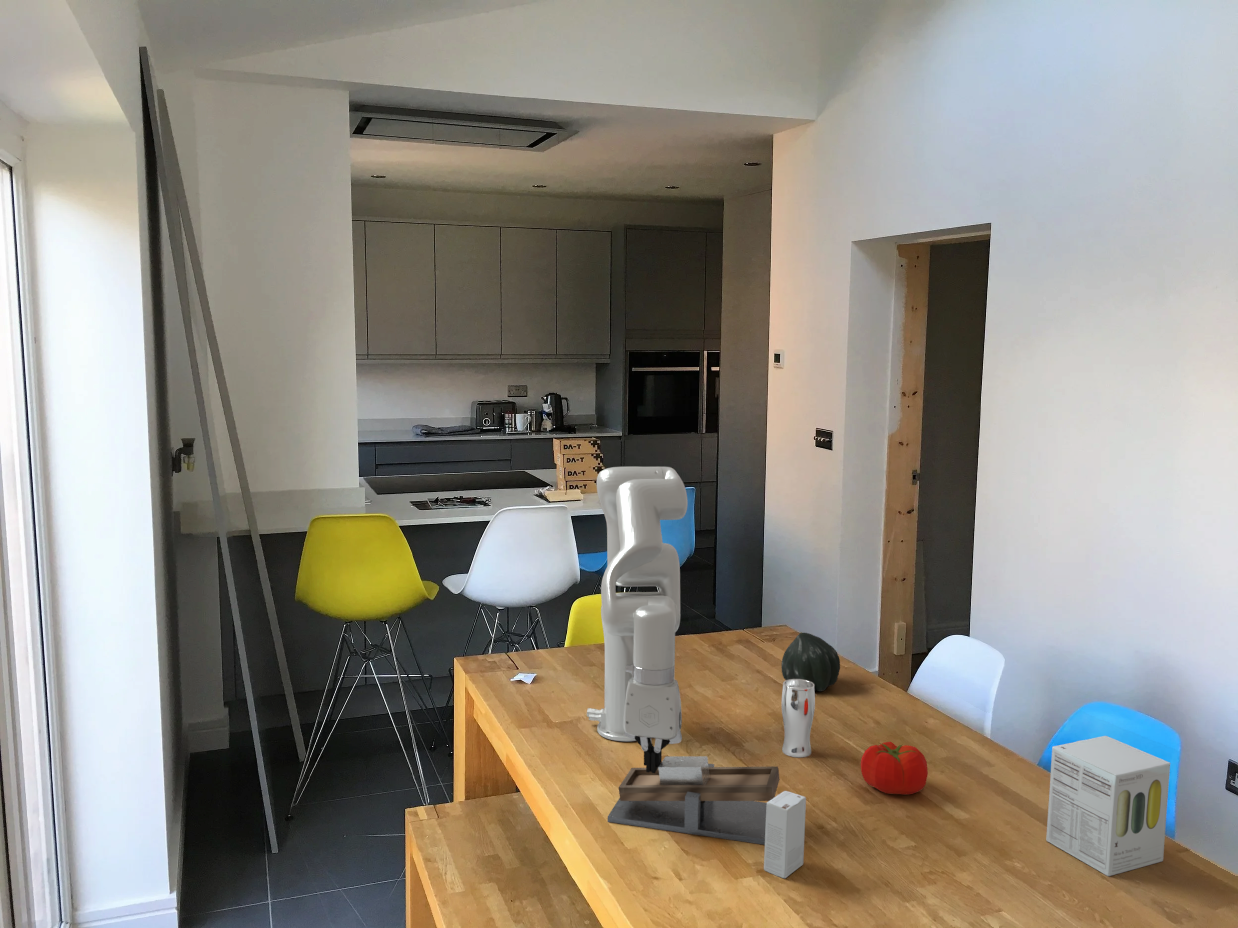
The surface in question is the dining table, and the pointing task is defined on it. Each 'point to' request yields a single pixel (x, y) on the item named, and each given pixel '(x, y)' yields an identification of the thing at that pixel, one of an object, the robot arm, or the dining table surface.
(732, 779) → the long rimmed wooden tray
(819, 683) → the squash
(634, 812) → the pivot stand
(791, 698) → the beer glass
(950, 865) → the dining table surface
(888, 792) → the tomato
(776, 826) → the skincare box
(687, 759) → the steel block
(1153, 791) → the supplement box
